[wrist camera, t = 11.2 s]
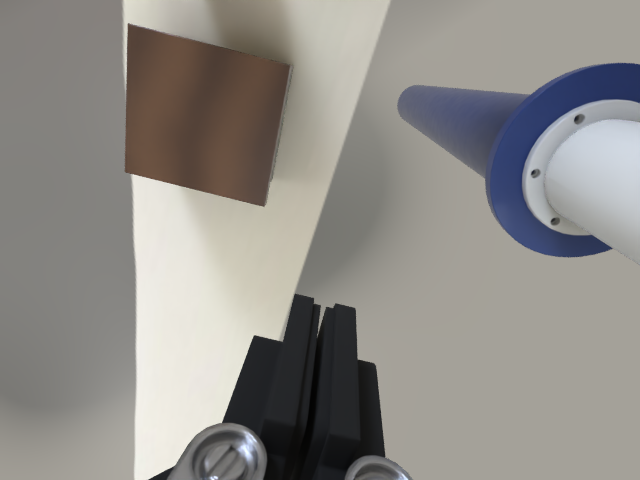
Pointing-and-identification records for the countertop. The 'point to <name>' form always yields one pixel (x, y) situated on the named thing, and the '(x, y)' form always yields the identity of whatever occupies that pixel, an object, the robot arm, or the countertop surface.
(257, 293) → the countertop surface
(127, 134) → the hatch
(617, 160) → the robot arm
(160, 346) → the countertop surface
